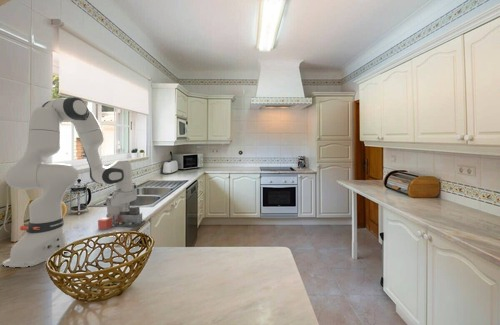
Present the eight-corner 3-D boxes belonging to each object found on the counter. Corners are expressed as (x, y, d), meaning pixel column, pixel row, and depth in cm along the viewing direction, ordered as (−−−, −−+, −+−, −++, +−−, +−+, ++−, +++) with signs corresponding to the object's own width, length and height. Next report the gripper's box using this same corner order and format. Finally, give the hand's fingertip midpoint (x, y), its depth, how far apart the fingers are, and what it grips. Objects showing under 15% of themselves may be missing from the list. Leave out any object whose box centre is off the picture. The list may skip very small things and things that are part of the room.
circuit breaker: (131, 215, 167) (130, 193, 166) (118, 222, 153) (117, 198, 152) (120, 215, 168) (120, 193, 167) (106, 222, 154) (105, 197, 153)
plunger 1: (126, 222, 149) (126, 211, 149) (120, 221, 150) (119, 211, 149) (130, 220, 153) (130, 210, 153) (124, 219, 154) (123, 209, 153)
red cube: (106, 229, 142) (106, 219, 141) (98, 228, 142) (97, 219, 142) (112, 226, 147) (112, 217, 146) (104, 225, 147) (103, 217, 147)
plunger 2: (136, 218, 148) (135, 207, 148) (129, 218, 149) (129, 207, 148) (139, 216, 152) (139, 206, 152) (133, 216, 153) (133, 205, 152)
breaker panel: (134, 227, 145) (133, 216, 144) (114, 226, 146) (113, 216, 146) (145, 220, 157) (144, 211, 156) (126, 220, 158) (126, 210, 157)
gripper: (118, 191, 139) (119, 215, 140) (138, 184, 159) (139, 206, 161) (107, 190, 140) (108, 215, 141) (129, 184, 160) (130, 206, 161)
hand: (125, 210), depth 151 cm, fingers closed
